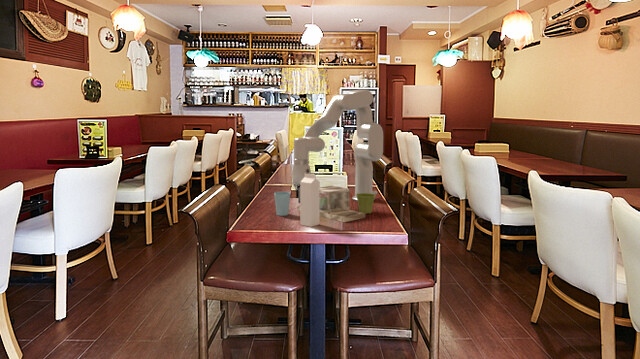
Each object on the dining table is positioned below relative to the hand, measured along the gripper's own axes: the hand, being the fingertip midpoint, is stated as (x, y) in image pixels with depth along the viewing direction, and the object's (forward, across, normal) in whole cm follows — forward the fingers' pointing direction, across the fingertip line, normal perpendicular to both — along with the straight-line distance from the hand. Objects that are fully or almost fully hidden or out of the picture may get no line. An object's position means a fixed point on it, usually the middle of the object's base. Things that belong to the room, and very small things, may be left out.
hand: (301, 197), depth 237 cm
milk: (+5, -30, +21) cm, 37 cm away
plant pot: (+5, -30, -15) cm, 34 cm away
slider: (+2, -10, 0) cm, 10 cm away
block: (+3, -17, 0) cm, 17 cm away
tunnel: (+5, -21, 0) cm, 22 cm away
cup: (+5, -7, +18) cm, 20 cm away
